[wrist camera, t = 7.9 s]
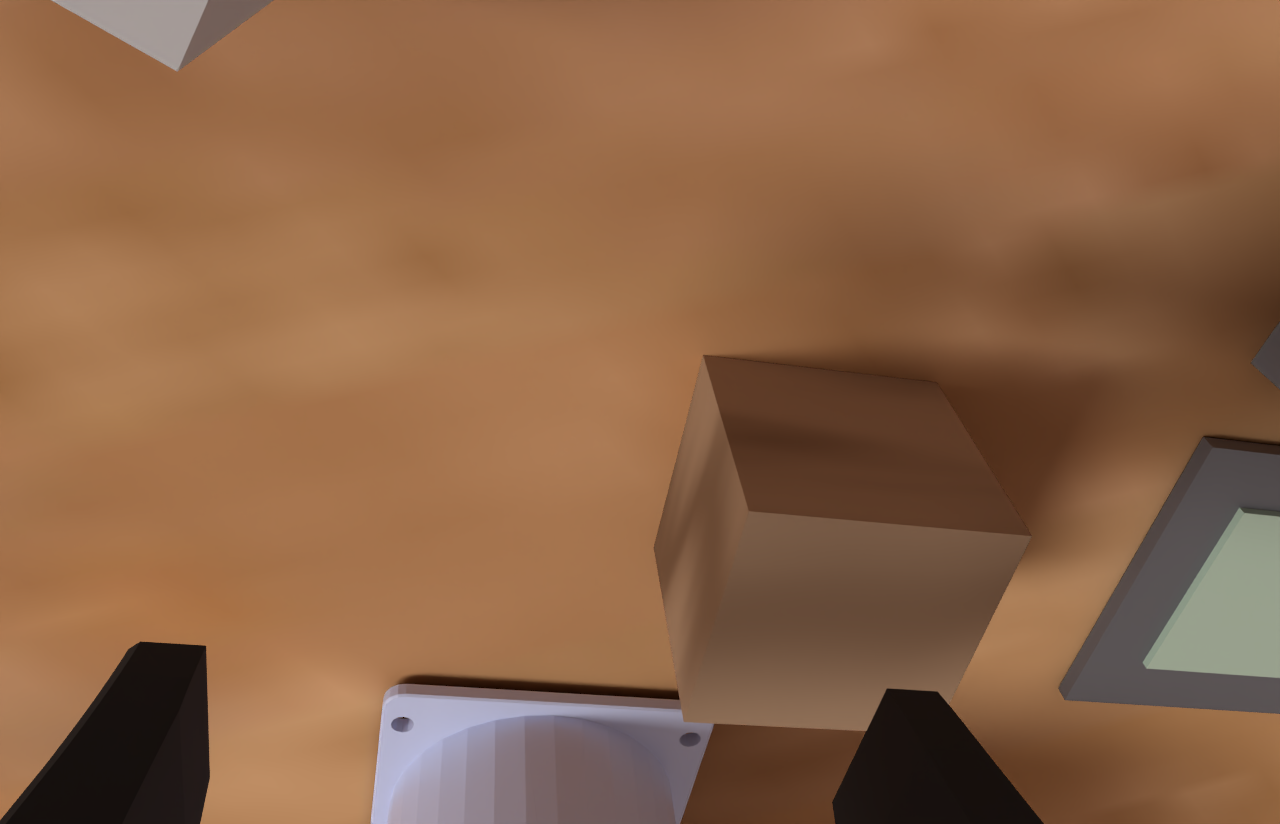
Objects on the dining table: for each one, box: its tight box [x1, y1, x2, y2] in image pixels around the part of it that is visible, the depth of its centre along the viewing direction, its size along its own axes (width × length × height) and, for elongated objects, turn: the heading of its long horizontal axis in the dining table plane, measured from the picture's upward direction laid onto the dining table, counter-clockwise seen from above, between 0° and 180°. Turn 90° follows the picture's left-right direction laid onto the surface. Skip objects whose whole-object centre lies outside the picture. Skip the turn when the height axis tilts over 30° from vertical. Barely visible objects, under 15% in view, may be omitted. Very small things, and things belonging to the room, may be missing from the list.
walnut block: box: [654, 355, 1032, 731], centre depth 21 cm, size 5×5×5 cm
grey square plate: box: [1059, 437, 1280, 714], centre depth 27 cm, size 8×8×1 cm
